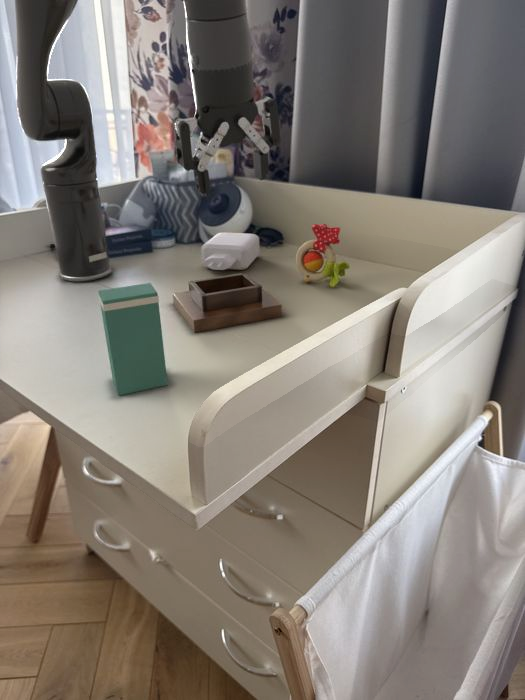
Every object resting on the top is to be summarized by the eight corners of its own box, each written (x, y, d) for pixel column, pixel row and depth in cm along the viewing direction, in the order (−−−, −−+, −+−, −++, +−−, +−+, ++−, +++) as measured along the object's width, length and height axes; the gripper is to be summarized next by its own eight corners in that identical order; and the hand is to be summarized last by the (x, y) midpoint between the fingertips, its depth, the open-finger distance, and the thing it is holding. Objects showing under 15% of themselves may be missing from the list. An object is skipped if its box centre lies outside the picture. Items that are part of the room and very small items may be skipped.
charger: (190, 277, 101) (217, 254, 114) (238, 281, 99) (259, 256, 111) (188, 253, 99) (215, 231, 111) (237, 256, 96) (259, 234, 109)
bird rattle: (304, 299, 96) (352, 283, 92) (279, 241, 92) (328, 222, 88) (311, 287, 101) (357, 272, 97) (288, 232, 98) (335, 214, 94)
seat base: (194, 332, 79) (192, 304, 77) (173, 304, 89) (170, 278, 87) (281, 316, 84) (281, 289, 82) (252, 291, 94) (251, 266, 92)
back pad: (117, 396, 64) (102, 301, 58) (112, 381, 67) (97, 290, 61) (168, 385, 66) (158, 292, 61) (161, 371, 69) (150, 282, 64)
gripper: (257, 41, 70) (264, 164, 80) (153, 62, 65) (176, 190, 76) (288, 53, 65) (291, 182, 75) (177, 77, 60) (198, 211, 71)
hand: (233, 186), depth 76 cm, fingers open, 8 cm apart
